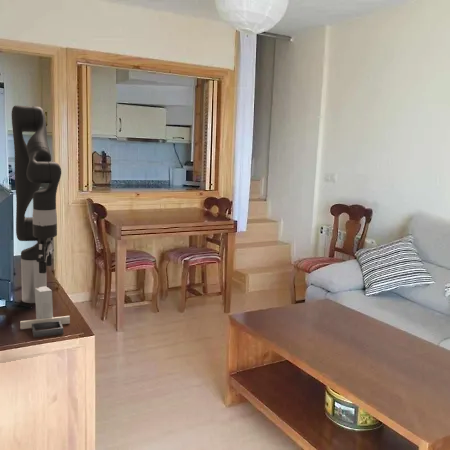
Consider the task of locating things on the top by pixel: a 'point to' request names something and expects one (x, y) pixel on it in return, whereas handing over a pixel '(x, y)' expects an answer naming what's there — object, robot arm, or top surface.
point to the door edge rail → (29, 323)
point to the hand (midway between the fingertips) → (45, 269)
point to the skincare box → (43, 302)
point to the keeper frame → (47, 331)
